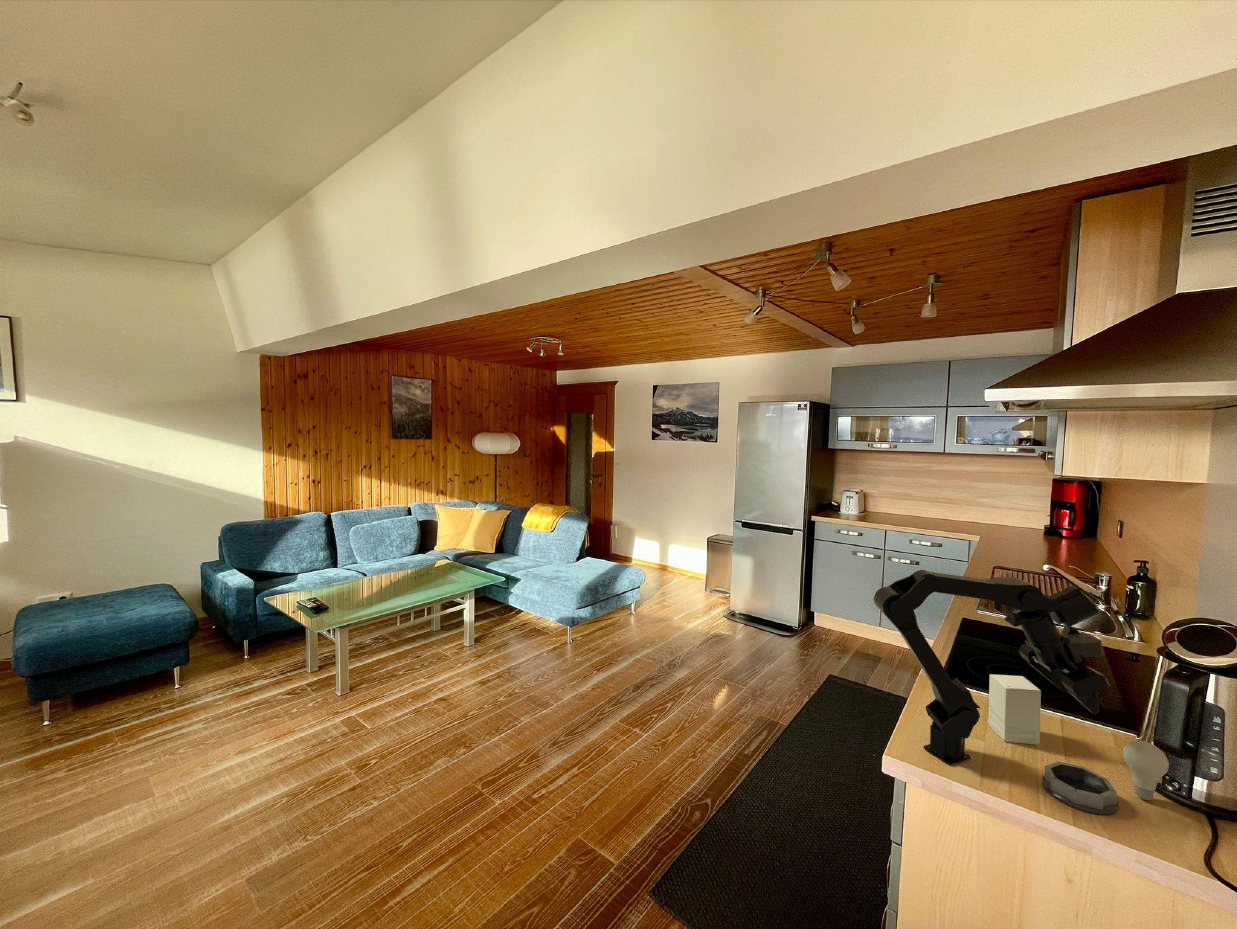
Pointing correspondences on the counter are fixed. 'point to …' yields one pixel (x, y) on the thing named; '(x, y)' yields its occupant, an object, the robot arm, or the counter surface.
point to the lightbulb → (1145, 767)
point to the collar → (1080, 788)
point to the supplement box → (1014, 709)
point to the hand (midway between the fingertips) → (1079, 701)
